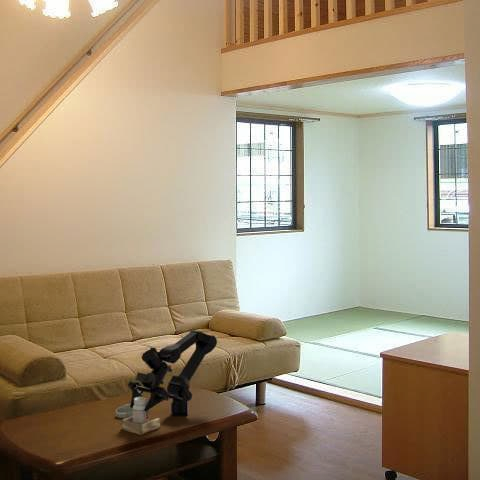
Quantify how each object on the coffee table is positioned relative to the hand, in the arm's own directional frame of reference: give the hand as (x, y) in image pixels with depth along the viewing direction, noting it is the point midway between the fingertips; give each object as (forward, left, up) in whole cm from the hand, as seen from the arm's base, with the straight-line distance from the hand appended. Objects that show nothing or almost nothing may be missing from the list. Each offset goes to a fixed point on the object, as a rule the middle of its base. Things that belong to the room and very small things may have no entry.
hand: (137, 409), depth 264 cm
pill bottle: (-1, -1, -8) cm, 8 cm away
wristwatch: (+7, -16, -8) cm, 20 cm away
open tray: (-1, -1, -8) cm, 8 cm away
